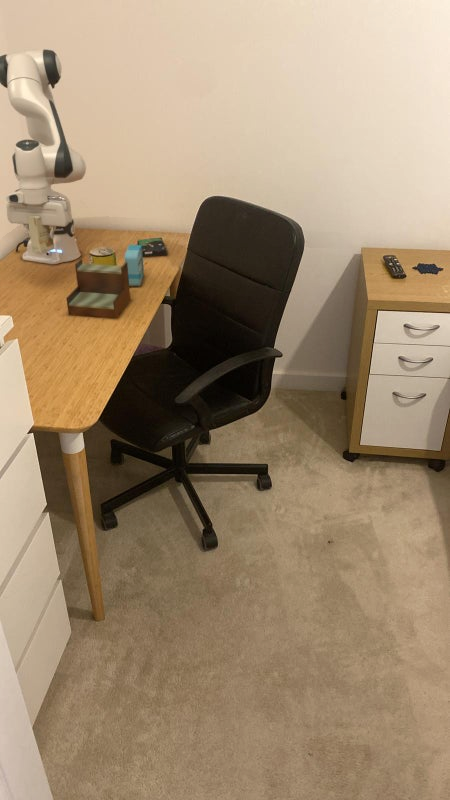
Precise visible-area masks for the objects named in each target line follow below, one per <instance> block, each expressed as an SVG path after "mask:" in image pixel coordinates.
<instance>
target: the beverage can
mask: <svg viewBox="0 0 450 800" xmlns="http://www.w3.org/2000/svg"><path fill="white" fill-rule="evenodd" d="M88 255H89V264H96V265H111V266H118V265H117V255H116V249H114V248H113V247H108V246H99V247H95V248H92V249H90V250H89V251H88Z"/></svg>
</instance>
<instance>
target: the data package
mask: <svg viewBox="0 0 450 800" xmlns="http://www.w3.org/2000/svg"><path fill="white" fill-rule="evenodd" d="M125 262H127V265H128V277H129V287H135V288H136V287H139V288H140V287H141V285H142V282H143V279H144V276H145V275H144V274H145V270H144V269H145V268H144V257H143V254H142V246H141V245H138V244H129V245H128V246H127V249H126V251H125V253H124V263H125Z"/></svg>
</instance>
